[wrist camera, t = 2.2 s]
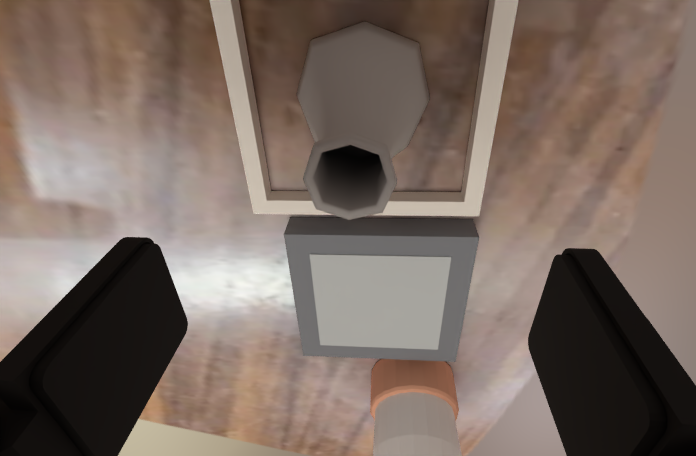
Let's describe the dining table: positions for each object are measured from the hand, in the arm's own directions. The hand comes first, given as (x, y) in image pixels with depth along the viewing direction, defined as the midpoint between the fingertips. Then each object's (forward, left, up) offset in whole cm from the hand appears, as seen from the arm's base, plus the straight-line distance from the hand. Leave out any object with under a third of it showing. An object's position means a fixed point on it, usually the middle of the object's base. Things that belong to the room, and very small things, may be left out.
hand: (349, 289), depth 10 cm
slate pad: (+14, +1, -15) cm, 20 cm away
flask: (0, 0, -15) cm, 15 cm away
